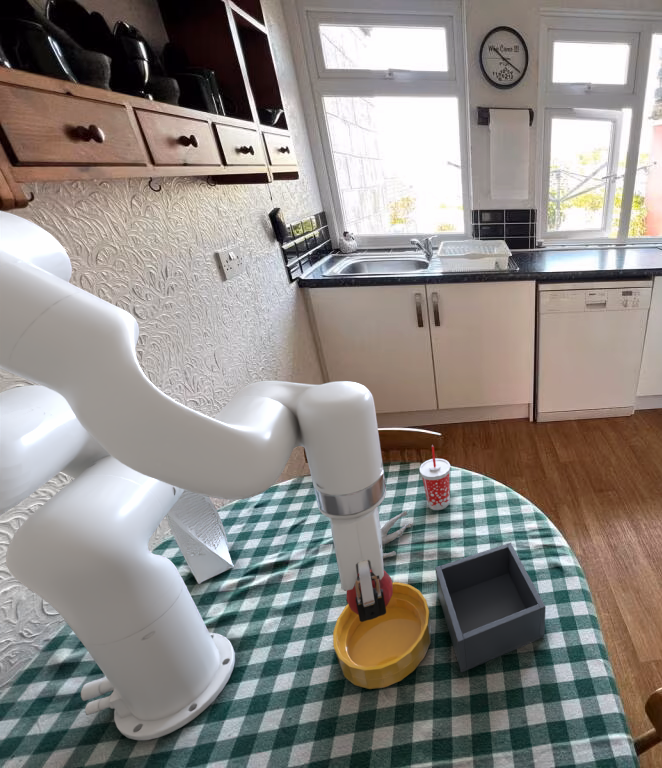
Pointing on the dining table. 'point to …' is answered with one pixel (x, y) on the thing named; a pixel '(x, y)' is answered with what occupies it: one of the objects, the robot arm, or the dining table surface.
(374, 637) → the bowl
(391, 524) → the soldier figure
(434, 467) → the beverage cup
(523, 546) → the dining table surface
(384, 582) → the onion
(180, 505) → the skyscraper
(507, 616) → the bin
